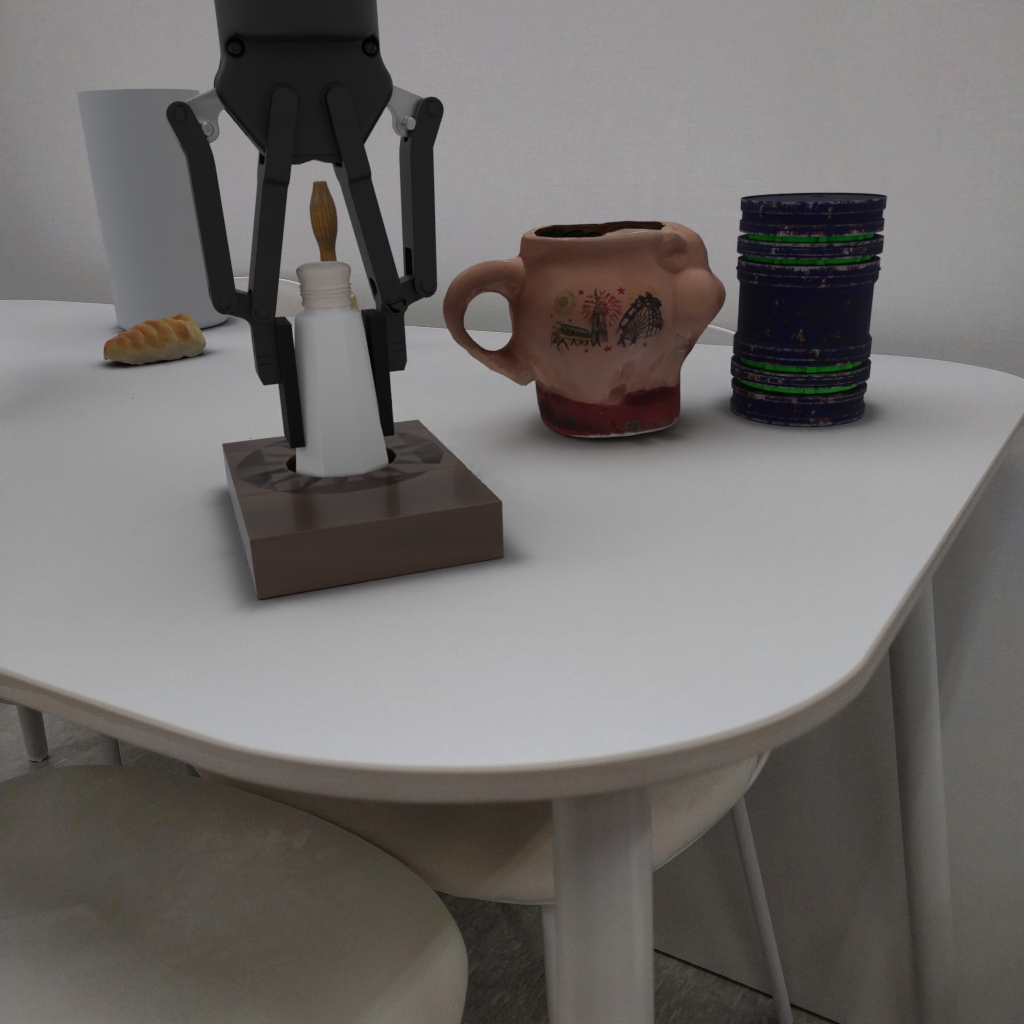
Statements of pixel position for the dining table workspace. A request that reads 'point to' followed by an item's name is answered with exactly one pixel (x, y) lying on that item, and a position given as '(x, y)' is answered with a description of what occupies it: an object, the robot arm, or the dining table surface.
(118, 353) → the pastry
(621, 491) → the dining table surface
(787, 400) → the storage jar
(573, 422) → the ceramic mug
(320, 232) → the hand bell
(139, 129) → the cylinder vase
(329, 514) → the holder
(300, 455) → the salt shaker
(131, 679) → the dining table surface
